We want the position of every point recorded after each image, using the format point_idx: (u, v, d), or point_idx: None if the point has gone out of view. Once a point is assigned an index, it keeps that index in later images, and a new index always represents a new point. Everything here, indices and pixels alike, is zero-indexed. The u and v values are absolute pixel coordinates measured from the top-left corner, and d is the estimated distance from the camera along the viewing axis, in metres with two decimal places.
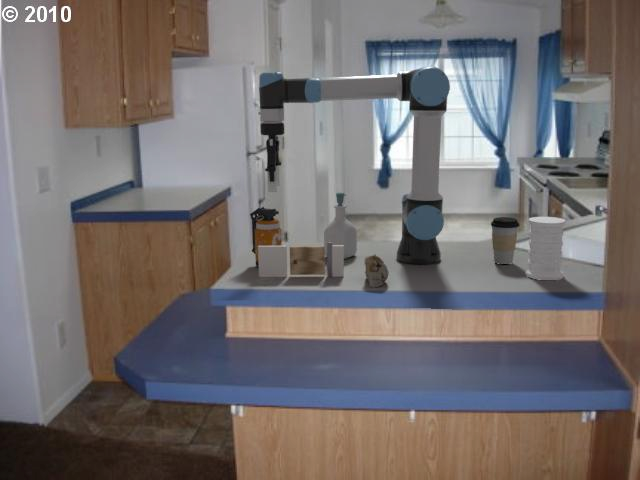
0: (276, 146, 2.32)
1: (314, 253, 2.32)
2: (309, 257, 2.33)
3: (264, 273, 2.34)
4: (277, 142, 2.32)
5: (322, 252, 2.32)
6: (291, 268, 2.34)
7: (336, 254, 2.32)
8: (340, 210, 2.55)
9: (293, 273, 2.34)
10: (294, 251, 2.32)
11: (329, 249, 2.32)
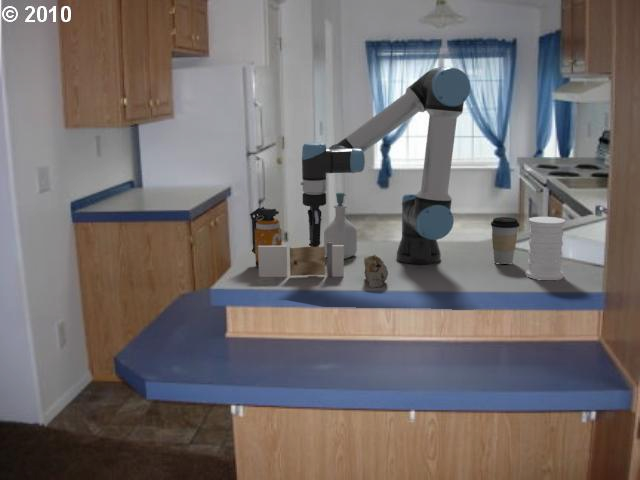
0: None
1: (315, 253, 2.32)
2: (309, 257, 2.32)
3: (264, 273, 2.34)
4: (320, 214, 2.31)
5: (322, 252, 2.32)
6: (291, 269, 2.33)
7: (336, 254, 2.32)
8: (340, 210, 2.55)
9: (293, 274, 2.33)
10: (294, 252, 2.32)
11: (329, 249, 2.32)
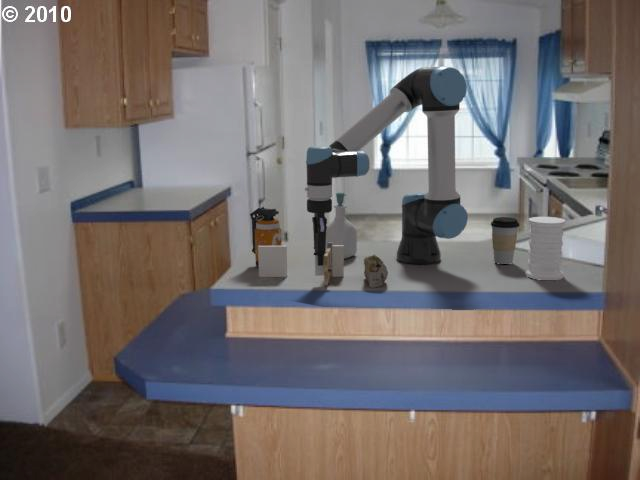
0: None
1: None
2: (329, 261, 2.27)
3: (264, 273, 2.34)
4: (325, 221, 2.19)
5: (330, 253, 2.30)
6: (327, 278, 2.22)
7: (336, 254, 2.32)
8: (340, 210, 2.55)
9: (327, 282, 2.23)
10: (327, 259, 2.22)
11: None
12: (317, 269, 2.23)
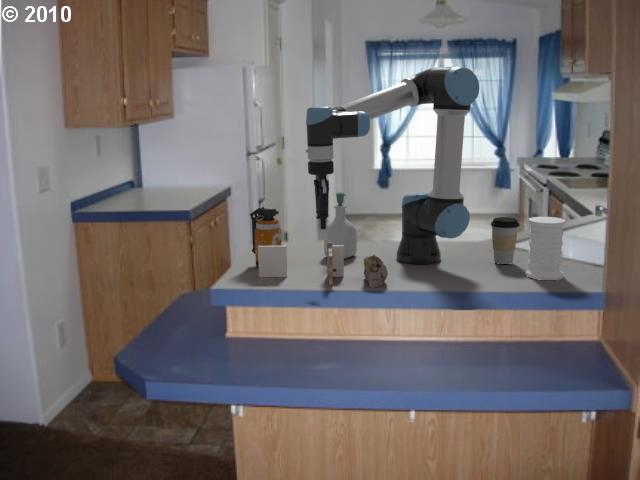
0: None
1: None
2: None
3: (264, 273, 2.34)
4: (327, 183, 2.14)
5: None
6: (332, 278, 2.22)
7: (336, 254, 2.32)
8: (340, 210, 2.55)
9: (332, 282, 2.23)
10: None
11: None
12: (320, 233, 2.18)
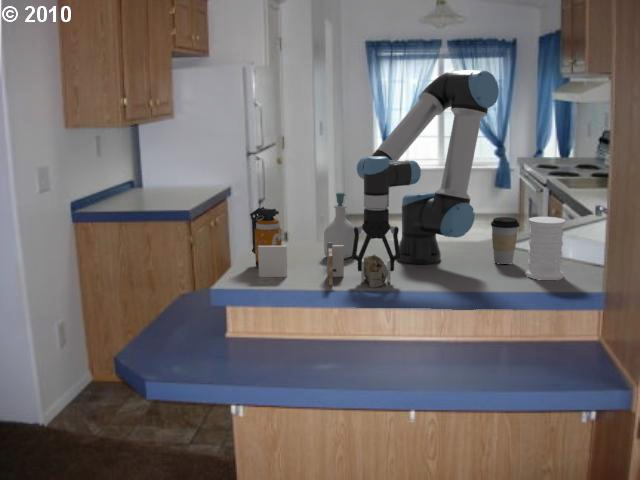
0: (367, 234, 2.22)
1: None
2: None
3: (264, 273, 2.34)
4: (370, 230, 2.22)
5: None
6: (332, 278, 2.22)
7: (336, 254, 2.32)
8: (340, 210, 2.55)
9: (332, 282, 2.23)
10: None
11: None
12: (361, 274, 2.27)
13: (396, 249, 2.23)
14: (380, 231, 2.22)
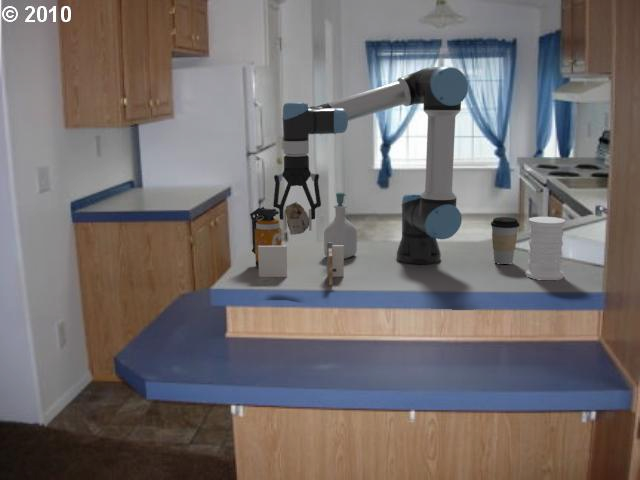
0: (288, 181, 2.21)
1: None
2: None
3: (264, 273, 2.34)
4: (290, 177, 2.20)
5: None
6: (332, 278, 2.22)
7: (336, 254, 2.32)
8: (340, 210, 2.55)
9: (332, 282, 2.23)
10: None
11: None
12: None
13: (316, 196, 2.22)
14: (300, 178, 2.20)
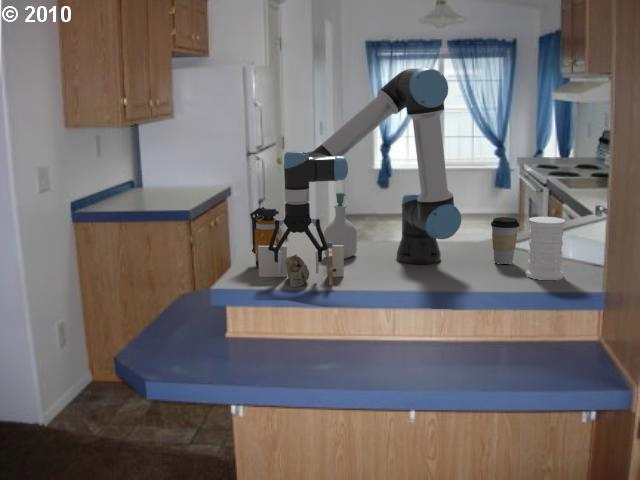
0: (288, 227, 2.24)
1: None
2: None
3: (264, 273, 2.34)
4: (291, 223, 2.23)
5: None
6: (332, 278, 2.22)
7: (336, 254, 2.32)
8: (340, 210, 2.55)
9: (332, 282, 2.23)
10: None
11: None
12: None
13: (322, 240, 2.25)
14: (301, 225, 2.23)
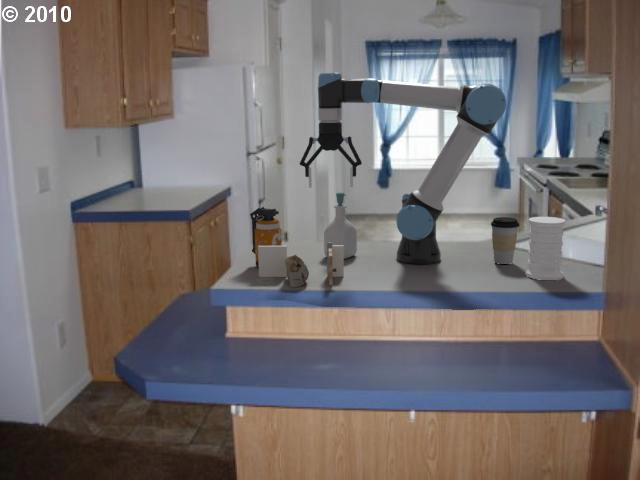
0: (321, 145, 2.38)
1: None
2: None
3: (264, 273, 2.34)
4: (324, 141, 2.38)
5: None
6: (332, 278, 2.22)
7: (336, 254, 2.32)
8: (340, 210, 2.55)
9: (332, 282, 2.23)
10: None
11: None
12: None
13: (355, 156, 2.39)
14: (334, 143, 2.37)
